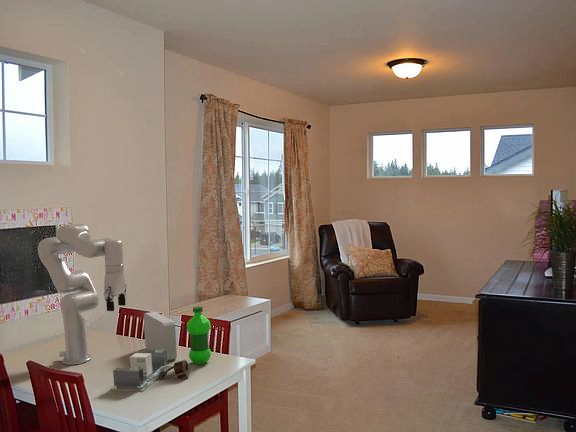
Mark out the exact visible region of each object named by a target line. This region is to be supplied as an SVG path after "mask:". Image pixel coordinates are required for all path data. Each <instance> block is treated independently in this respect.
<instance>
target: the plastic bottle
mask: <svg viewBox="0 0 576 432" xmlns="http://www.w3.org/2000/svg"><path fill="white" fill-rule="evenodd" d="M203 309H204V308H203V306H201V305H200V306H199V305H197V306H194V307H193V308H192V312H193V314H194V315H193V316H192V317H191V318H190V319H189V320H188V321H187V323H186V330H187V333H188V334H189V339H190V342H189V343H190V351H189V353H188V358H189V360H190V361H191V362H192V363H194V364H195V365H197V364H198V366H199V365H200V364H201V365H205V364H206V363H207V362H208V361H209V360H210V358H211V356H212V350H211V349H210V347H209V345H210V343H209V331H210V329H211V325H212V324H211V321H210V320H209V319H208V318H207V317H206V316H204V315H203V314H202V312H203V311H204V310H203Z"/></svg>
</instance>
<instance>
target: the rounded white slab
mask: <svg viewBox="0 0 576 432" xmlns="http://www.w3.org/2000/svg"><path fill="white" fill-rule="evenodd" d="M143 329H144V343H145V344H144V345H145V348H146V350H156V349H158V348H164V350H167V362H169V361H173V360H176V359H177V357H178V353H177V335H176V334H177V333H176V324H175V322H174V320H173V319H171V318H168V317H167V316H165V315H164V314H161V313H159V312H158V311H150V312H145V313H143ZM168 360H169V361H168Z"/></svg>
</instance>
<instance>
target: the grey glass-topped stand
mask: <svg viewBox="0 0 576 432" xmlns="http://www.w3.org/2000/svg"><path fill="white" fill-rule="evenodd" d="M139 353H151V357H152V373H151V374H149V375H148V376H143V369H140V367H139V366H133V367H132V368H131V367H129V368H128V367H126V368H125V367H117V368H115V369H113V371H112V374H113V386H112V387H111V388H109V389H110V390H109V391H114V392H115V391H119V392H120V391H121V392H144V391H146V390H147V389H148V388H149V387H150V386H152V385H153V384H154V383H155V382H157V381H158V379H160V378H159V374H160V372H161V371H165V372H166V370H168V369H169V368H170V367H172V365H168V361H167V350H164V348H158V349H156V350H148V349H142V350H141V351H140V352H139Z"/></svg>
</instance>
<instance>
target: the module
mask: <svg viewBox="0 0 576 432" xmlns="http://www.w3.org/2000/svg"><path fill="white" fill-rule="evenodd" d="M129 359H130V368H132V367H133V366H139V367H140V369H143V376H148V375H149V374H151V373H152V357H151V353H140V352H135V353H134V354H132V355H131V356H129Z"/></svg>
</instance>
